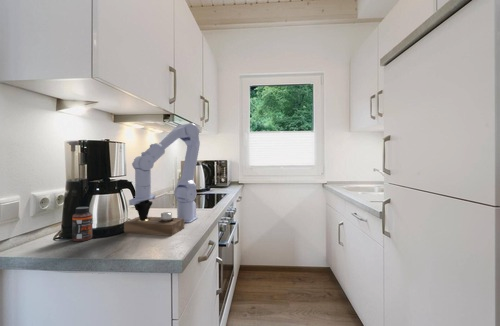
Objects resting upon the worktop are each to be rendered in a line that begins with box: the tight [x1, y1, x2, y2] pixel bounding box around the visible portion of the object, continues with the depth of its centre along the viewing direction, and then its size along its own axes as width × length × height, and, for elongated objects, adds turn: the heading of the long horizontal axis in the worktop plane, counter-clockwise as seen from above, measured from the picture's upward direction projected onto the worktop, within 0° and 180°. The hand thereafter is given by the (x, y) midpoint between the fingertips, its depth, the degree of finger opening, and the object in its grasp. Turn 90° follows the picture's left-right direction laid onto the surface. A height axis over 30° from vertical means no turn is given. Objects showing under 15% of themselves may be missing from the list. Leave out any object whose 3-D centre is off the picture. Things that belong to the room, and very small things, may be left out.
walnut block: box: [123, 216, 185, 236], centre depth 103 cm, size 10×20×4 cm, turn 79°
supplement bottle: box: [71, 206, 93, 242], centre depth 91 cm, size 6×6×11 cm
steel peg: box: [160, 211, 173, 223], centre depth 102 cm, size 4×4×4 cm
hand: (143, 220), depth 104 cm, fingers closed, pressing on brass peg
